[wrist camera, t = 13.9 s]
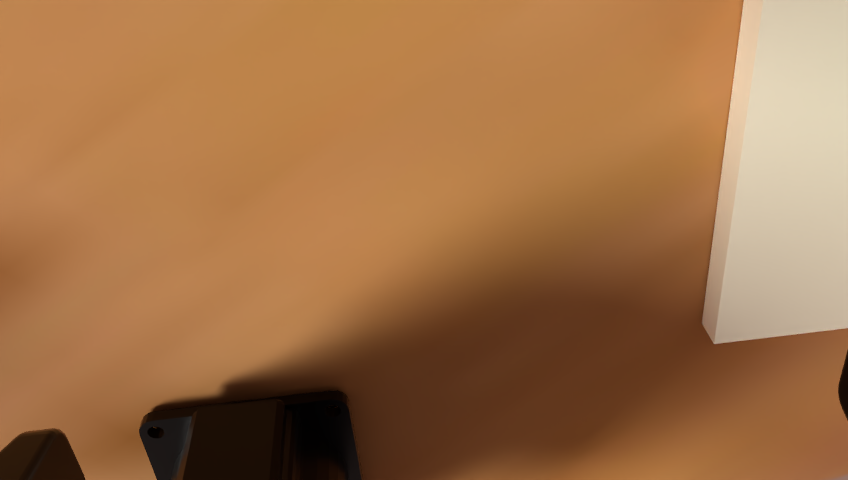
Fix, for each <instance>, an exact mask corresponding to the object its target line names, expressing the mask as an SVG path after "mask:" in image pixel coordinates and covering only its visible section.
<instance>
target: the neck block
mask: <svg viewBox="0 0 848 480" xmlns="http://www.w3.org/2000/svg"><path fill="white" fill-rule="evenodd" d="M702 325H703V326H704V328H705V330H706V331H707V333H708V335H709V337H710V338H711V340H712V342H713V343H714V344H719V343H727V342H736V341H744V340H753V339H761V338H769V337H778V336H786V335H794V334H803V333H811V332H819V331H828V330H836V329H844V328H848V0H744V3H743V11H742V19H741V26H740V34H739V42H738V49H737V57H736V65H735V73H734V80H733V88H732V96H731V103H730V111H729V119H728V126H727V134H726V142H725V149H724V157H723V165H722V172H721V180H720V188H719V195H718V203H717V211H716V218H715V226H714V234H713V241H712V249H711V257H710V264H709V272H708V280H707V287H706V295H705V303H704V310H703V318H702Z"/></svg>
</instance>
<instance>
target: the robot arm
mask: <svg viewBox="0 0 848 480" xmlns="http://www.w3.org/2000/svg"><path fill="white" fill-rule="evenodd" d="M838 394H839V400H840V404H841V406H842V409H843V411H844V413H845V416H846V418H847V420H848V351H847V355H846V359H845V362H844V366H843V370H842V374H841V378H840V381H839V387H838ZM331 405H336V406H338V407H336V408H329V407H328V406H331ZM153 427H160V428H162V429H155V428H153ZM139 433H140V437H141V439H142V442H143V444H144V447H145V450H146V452H147V455H148V457H149V460H150V463H151V465H152V468H153V470H154V473H155V476H156V478H157V480H363V475H362V470H361V464H360V459H359V453H358V448H357V442H356V437H355V431H354V426H353V421H352V415H351V410H350V404H349V400H348V397H347V396H346V395H345V394H344V393H342V392H339V391H322V392H314V393H306V394H297V395H289V396H281V397H272V398H264V399H256V400H247V401H239V402H230V403H222V404H214V405H205V406H197V407H189V408H180V409H172V410H164V411H155V412H151V413H148V414H147V415H145V416H144V417H143V419H142V422H141V425H140V429H139ZM0 480H85V477H84V474H83V472H82V470H81V468H80V465H79V463H78V461H77V459H76V457H75V454H74V452H73V450H72V448H71V446H70V443H69V441H68V439H67V437H66V435H65V434H64V433H63V432H62V431H61V430H59V429H55V428H52V429H44V430H36V431H28V432H24V433H22V434H20V435H18V436H17V437H16V438H15V439H13V440H12V441H11V442H10V443H9V444H8V445H7V446H6V447H5V448H4V449H3V450H1V451H0Z"/></svg>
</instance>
